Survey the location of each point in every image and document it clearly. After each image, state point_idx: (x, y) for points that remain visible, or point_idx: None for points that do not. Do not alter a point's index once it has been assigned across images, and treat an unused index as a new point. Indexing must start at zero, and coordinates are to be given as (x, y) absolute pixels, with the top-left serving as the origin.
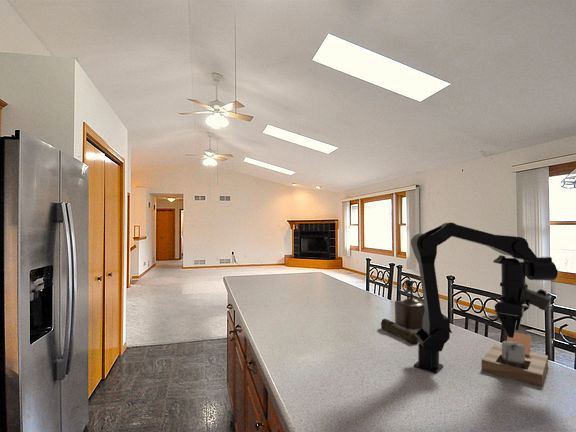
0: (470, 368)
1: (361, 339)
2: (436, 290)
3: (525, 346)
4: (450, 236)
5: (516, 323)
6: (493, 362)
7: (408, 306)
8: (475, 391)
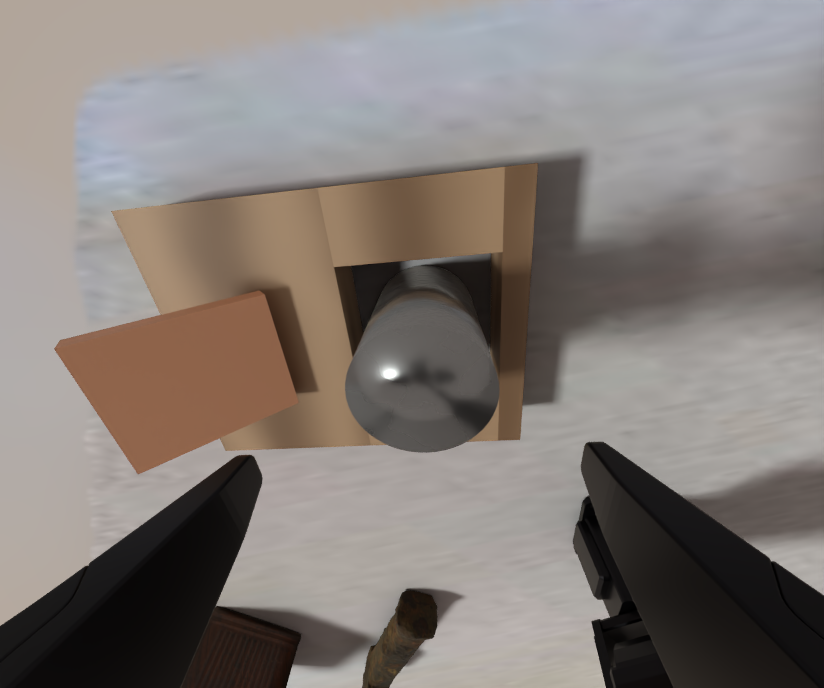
0: (522, 437)
1: (515, 666)
2: None
3: (208, 335)
4: None
5: (212, 530)
6: (519, 398)
7: None
8: (775, 369)
